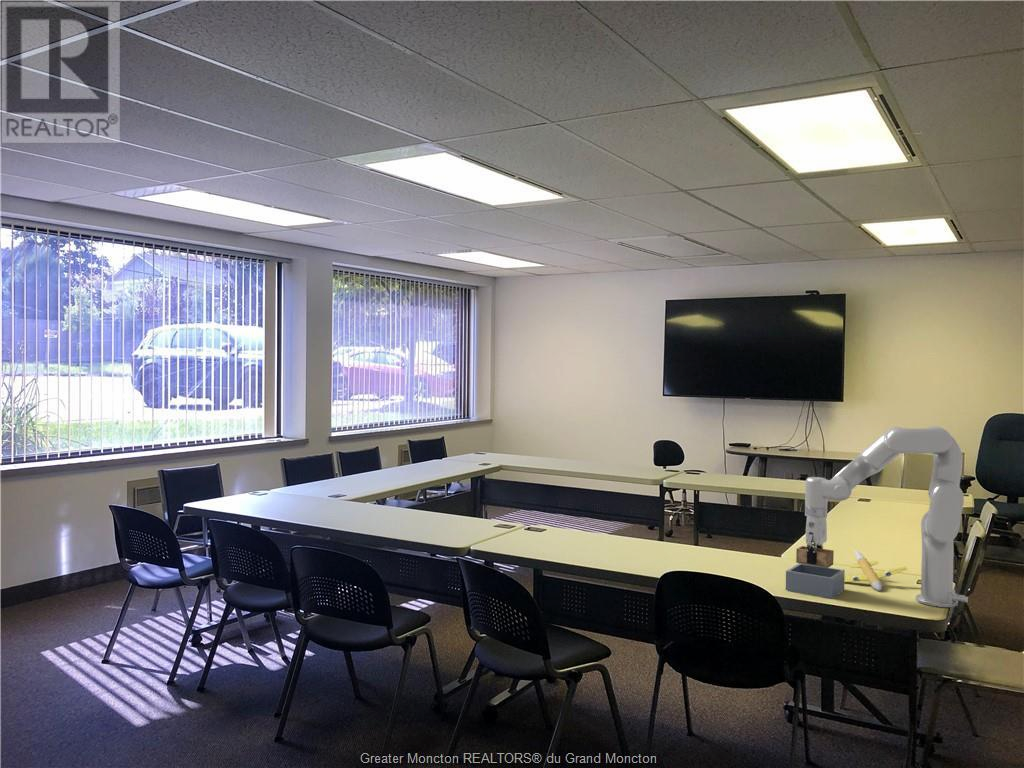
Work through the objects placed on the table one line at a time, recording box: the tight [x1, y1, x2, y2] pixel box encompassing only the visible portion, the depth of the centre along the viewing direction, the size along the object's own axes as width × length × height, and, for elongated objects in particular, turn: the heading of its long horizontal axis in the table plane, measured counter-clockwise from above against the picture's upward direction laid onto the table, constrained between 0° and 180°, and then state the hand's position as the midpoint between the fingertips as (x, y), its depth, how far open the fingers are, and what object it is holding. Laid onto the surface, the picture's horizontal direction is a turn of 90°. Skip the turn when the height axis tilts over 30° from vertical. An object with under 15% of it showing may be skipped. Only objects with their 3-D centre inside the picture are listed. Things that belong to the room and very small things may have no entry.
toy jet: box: [844, 549, 908, 592], centre depth 291 cm, size 26×7×30 cm
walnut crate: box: [795, 545, 834, 568], centre depth 279 cm, size 11×6×5 cm, turn 52°
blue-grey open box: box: [785, 563, 846, 599], centre depth 279 cm, size 16×15×7 cm
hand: (814, 561), depth 279 cm, fingers closed on walnut crate, 6 cm apart
